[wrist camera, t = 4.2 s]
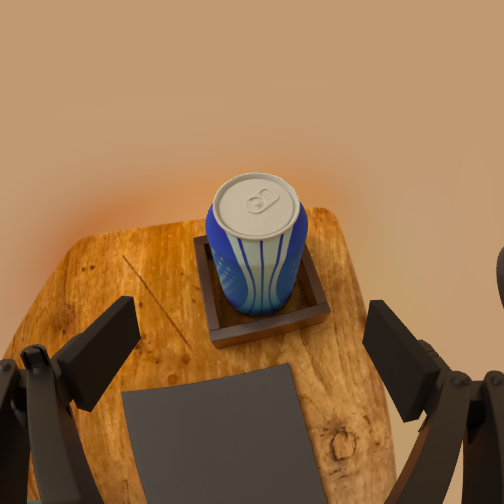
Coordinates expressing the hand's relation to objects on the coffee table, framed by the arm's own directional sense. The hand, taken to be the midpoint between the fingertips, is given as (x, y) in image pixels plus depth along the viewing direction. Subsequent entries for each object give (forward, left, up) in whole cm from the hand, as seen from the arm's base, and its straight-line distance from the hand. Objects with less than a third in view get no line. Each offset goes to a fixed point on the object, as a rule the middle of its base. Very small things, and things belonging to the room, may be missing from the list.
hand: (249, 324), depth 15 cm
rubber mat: (-11, +6, -18) cm, 22 cm away
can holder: (+9, -3, -18) cm, 20 cm away
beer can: (+9, -3, -18) cm, 20 cm away
